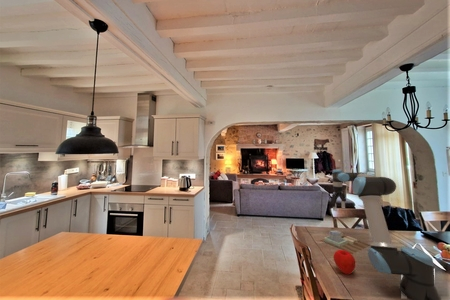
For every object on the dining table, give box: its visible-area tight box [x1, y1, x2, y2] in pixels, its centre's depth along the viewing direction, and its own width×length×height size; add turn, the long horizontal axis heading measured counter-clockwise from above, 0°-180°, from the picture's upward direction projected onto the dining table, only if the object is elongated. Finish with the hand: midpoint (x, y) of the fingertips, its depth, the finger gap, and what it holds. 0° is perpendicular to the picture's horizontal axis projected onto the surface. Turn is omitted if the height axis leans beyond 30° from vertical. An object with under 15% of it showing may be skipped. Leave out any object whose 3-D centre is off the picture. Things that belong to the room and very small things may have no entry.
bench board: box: [320, 231, 371, 255], centre depth 151 cm, size 28×26×6 cm
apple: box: [333, 249, 356, 275], centre depth 114 cm, size 12×12×13 cm
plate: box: [343, 235, 359, 245], centre depth 152 cm, size 8×8×2 cm
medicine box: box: [328, 230, 342, 243], centre depth 152 cm, size 8×4×9 cm, turn 92°
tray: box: [323, 235, 348, 249], centre depth 151 cm, size 12×13×3 cm
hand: (339, 209), depth 161 cm, fingers open, 13 cm apart
